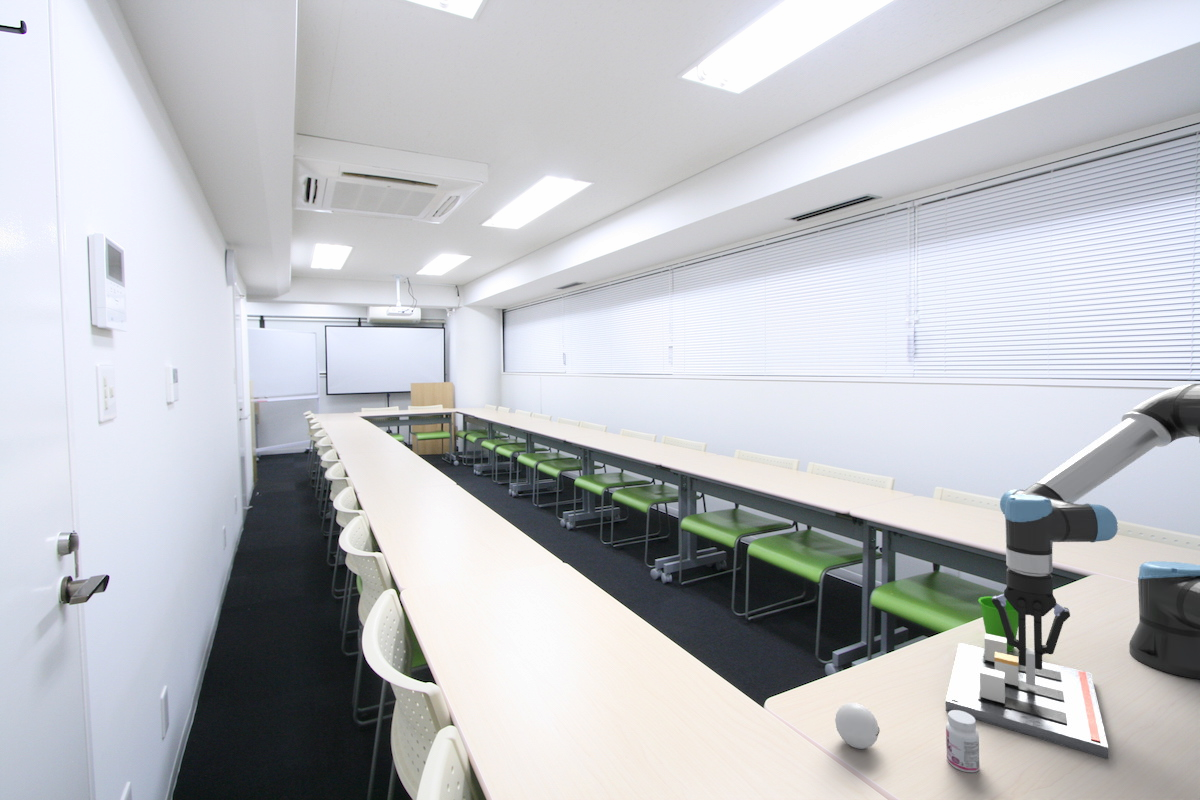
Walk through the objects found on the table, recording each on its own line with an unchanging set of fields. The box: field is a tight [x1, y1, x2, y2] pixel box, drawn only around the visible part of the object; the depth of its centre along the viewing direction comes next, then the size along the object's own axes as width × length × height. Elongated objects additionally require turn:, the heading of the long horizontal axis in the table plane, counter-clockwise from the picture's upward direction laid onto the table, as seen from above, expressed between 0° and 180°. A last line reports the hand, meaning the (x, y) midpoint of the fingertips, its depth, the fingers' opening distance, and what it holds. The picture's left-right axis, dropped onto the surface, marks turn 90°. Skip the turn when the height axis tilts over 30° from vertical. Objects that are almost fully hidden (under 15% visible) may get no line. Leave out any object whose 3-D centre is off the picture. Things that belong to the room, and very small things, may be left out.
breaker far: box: [984, 632, 1008, 662], centre depth 122 cm, size 4×3×5 cm
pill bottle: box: [945, 710, 980, 773], centre depth 93 cm, size 5×5×8 cm
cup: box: [977, 595, 1018, 653], centre depth 132 cm, size 9×9×11 cm
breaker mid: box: [994, 652, 1019, 686], centre depth 113 cm, size 4×3×5 cm
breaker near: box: [980, 666, 1005, 703], centre depth 108 cm, size 4×3×5 cm
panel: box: [945, 642, 1109, 759], centre depth 112 cm, size 24×30×2 cm
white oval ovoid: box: [834, 702, 881, 750], centre depth 100 cm, size 10×7×7 cm
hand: (1030, 681), depth 111 cm, fingers closed
